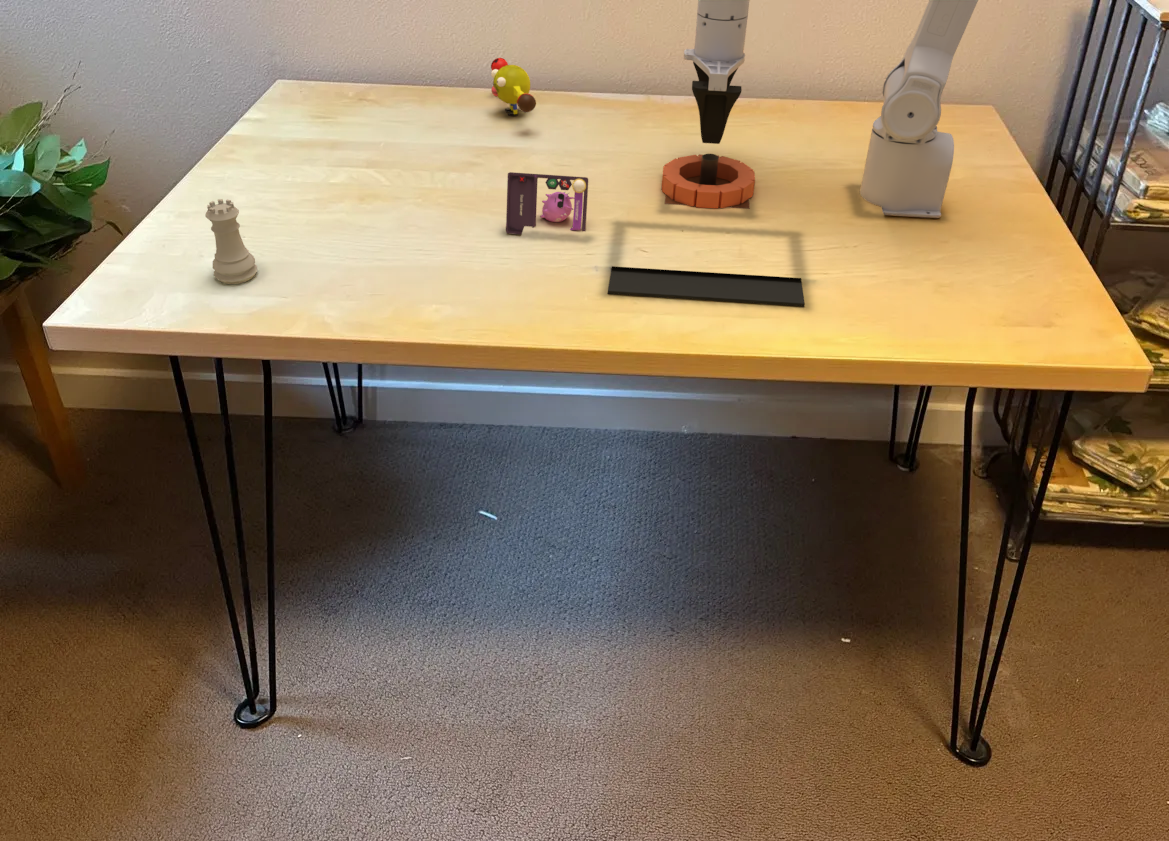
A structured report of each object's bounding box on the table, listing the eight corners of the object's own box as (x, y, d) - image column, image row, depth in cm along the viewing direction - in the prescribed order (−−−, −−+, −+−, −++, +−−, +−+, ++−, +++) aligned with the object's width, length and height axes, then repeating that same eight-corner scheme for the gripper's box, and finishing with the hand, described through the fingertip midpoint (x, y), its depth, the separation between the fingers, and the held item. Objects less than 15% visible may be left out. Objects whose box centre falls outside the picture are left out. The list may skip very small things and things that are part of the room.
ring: (751, 172, 122) (753, 157, 121) (754, 210, 114) (756, 194, 113) (663, 167, 123) (664, 152, 122) (660, 205, 115) (661, 189, 113)
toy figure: (479, 94, 146) (476, 47, 142) (515, 90, 148) (513, 44, 143) (508, 138, 133) (506, 89, 129) (547, 134, 134) (546, 85, 130)
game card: (506, 172, 108) (587, 178, 107) (515, 169, 112) (592, 175, 112) (504, 234, 110) (583, 240, 109) (513, 228, 115) (589, 234, 114)
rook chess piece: (241, 260, 105) (226, 191, 100) (267, 273, 103) (252, 203, 98) (205, 276, 102) (187, 205, 97) (231, 290, 100) (213, 218, 95)
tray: (793, 234, 111) (794, 231, 111) (804, 306, 99) (804, 303, 98) (619, 224, 113) (619, 221, 113) (607, 294, 100) (607, 290, 100)
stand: (746, 181, 123) (751, 142, 120) (748, 216, 115) (753, 176, 112) (667, 176, 123) (669, 138, 120) (663, 211, 116) (666, 171, 113)
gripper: (688, -6, 116) (679, 107, 125) (685, 30, 105) (676, 151, 113) (747, -3, 116) (735, 110, 124) (751, 33, 104) (737, 155, 113)
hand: (711, 130), depth 119 cm, fingers open, 7 cm apart
